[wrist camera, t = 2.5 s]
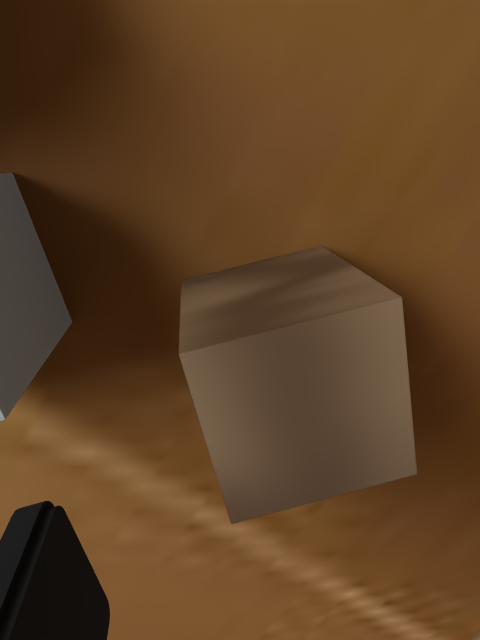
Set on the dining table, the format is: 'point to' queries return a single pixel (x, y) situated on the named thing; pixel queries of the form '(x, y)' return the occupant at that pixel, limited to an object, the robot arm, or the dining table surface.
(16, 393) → the grey block
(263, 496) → the walnut block
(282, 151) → the dining table surface
